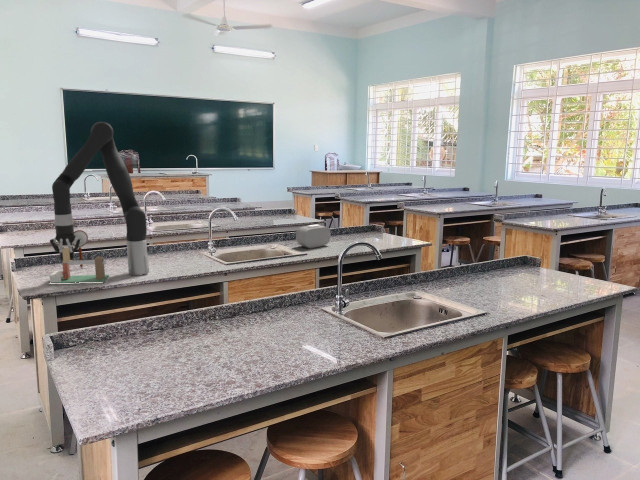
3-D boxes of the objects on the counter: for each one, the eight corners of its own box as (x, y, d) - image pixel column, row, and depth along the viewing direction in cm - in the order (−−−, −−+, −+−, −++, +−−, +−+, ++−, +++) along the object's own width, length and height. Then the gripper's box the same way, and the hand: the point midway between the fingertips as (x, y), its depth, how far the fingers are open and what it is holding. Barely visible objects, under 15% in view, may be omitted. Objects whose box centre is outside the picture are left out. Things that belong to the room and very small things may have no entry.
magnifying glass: (73, 270, 259) (70, 231, 255) (72, 269, 260) (68, 231, 256) (90, 267, 265) (87, 229, 261) (89, 266, 267) (86, 228, 262)
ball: (60, 268, 242) (55, 274, 242) (57, 270, 238) (52, 277, 238) (67, 273, 243) (62, 279, 243) (64, 275, 239) (59, 282, 239)
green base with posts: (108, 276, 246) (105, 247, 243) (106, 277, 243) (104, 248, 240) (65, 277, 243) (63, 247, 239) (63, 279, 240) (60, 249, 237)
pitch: (109, 276, 250) (107, 254, 247) (103, 283, 239) (101, 260, 237) (56, 278, 246) (54, 255, 243) (48, 285, 235) (46, 261, 233)
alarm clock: (320, 242, 331) (321, 222, 328) (330, 245, 324) (330, 224, 321) (295, 246, 318) (295, 225, 315) (304, 249, 311) (305, 228, 308)
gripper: (82, 221, 240) (85, 257, 244) (50, 222, 238) (54, 258, 242) (78, 224, 233) (81, 261, 237) (44, 225, 231) (48, 262, 235)
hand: (67, 259), depth 239 cm, fingers closed on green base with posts, 3 cm apart
